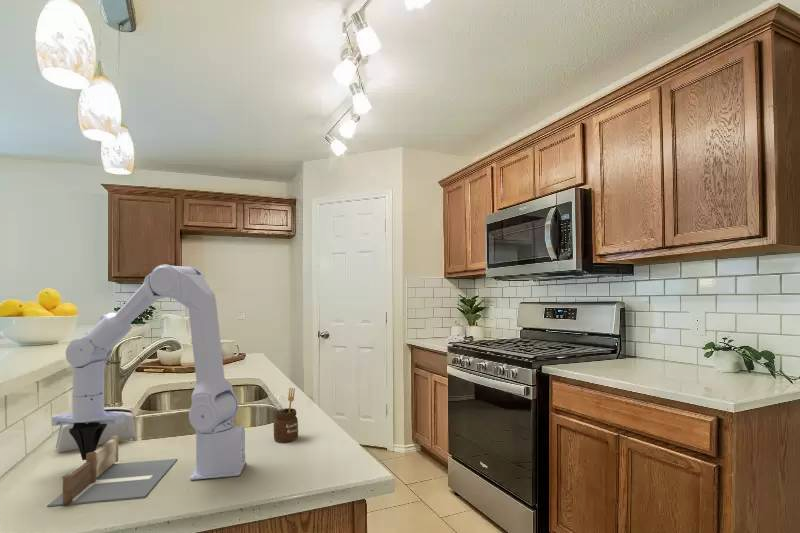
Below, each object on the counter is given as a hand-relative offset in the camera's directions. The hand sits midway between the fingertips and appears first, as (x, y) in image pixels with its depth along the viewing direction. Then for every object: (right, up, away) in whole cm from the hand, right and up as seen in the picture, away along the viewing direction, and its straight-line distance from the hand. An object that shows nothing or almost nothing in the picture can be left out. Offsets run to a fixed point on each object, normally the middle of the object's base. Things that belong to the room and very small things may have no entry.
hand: (88, 458), depth 100 cm
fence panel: (+5, -1, -2) cm, 6 cm away
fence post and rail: (+7, -1, -12) cm, 14 cm away
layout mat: (+11, -2, -7) cm, 13 cm away
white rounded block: (-9, -4, +17) cm, 19 cm away
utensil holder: (+38, -2, +16) cm, 42 cm away
